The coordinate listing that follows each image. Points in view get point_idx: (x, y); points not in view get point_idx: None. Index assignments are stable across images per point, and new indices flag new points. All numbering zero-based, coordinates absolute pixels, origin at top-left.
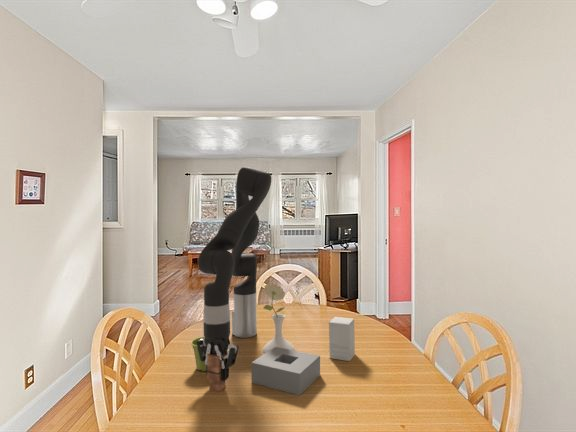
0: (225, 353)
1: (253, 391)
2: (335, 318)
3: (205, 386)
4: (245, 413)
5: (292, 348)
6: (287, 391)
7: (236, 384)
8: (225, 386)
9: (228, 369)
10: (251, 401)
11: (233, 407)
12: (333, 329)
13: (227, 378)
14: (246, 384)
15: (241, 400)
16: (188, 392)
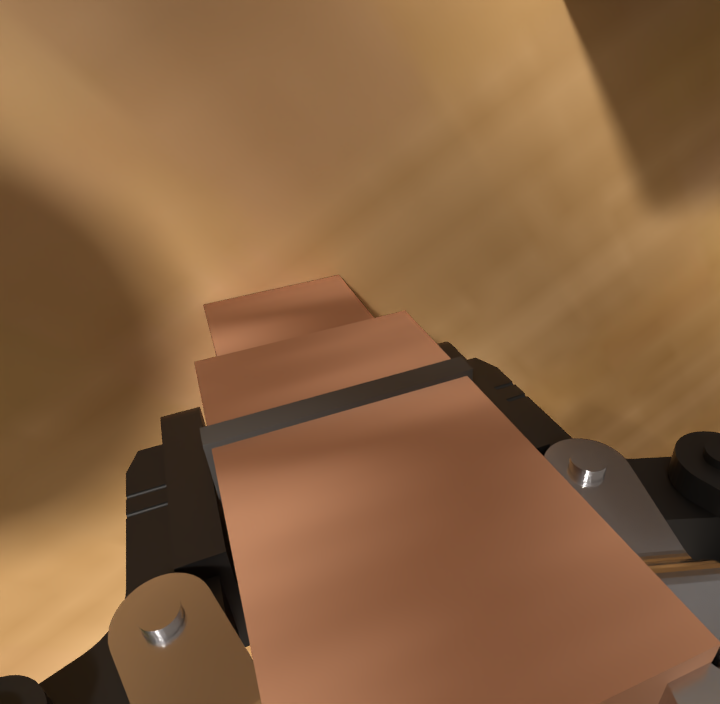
0: (693, 674)
1: (647, 157)
2: None
3: (142, 419)
4: (684, 412)
5: None
6: None
7: (414, 151)
8: (340, 277)
9: (556, 432)
10: (679, 296)
11: (593, 427)
12: None
13: (443, 344)
14: (520, 70)
15: (607, 337)
16: (122, 573)
